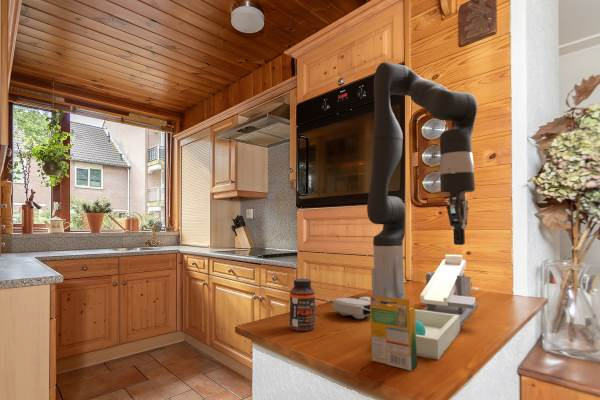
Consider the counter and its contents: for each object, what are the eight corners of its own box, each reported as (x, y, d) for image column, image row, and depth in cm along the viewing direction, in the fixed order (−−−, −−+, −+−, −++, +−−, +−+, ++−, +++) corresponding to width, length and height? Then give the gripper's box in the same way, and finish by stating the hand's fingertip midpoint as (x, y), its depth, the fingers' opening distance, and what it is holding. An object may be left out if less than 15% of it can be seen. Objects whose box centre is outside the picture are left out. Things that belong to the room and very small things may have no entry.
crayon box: (417, 365, 59) (415, 296, 60) (411, 371, 57) (409, 300, 58) (378, 356, 64) (376, 292, 64) (371, 361, 61) (369, 294, 62)
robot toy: (359, 309, 103) (324, 314, 93) (360, 293, 103) (325, 297, 93) (395, 317, 94) (360, 324, 84) (395, 300, 94) (361, 305, 84)
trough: (421, 310, 85) (419, 289, 84) (444, 271, 106) (443, 254, 105) (474, 317, 78) (472, 294, 78) (487, 274, 99) (486, 256, 99)
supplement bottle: (297, 333, 77) (296, 282, 78) (285, 327, 82) (285, 279, 83) (320, 329, 80) (319, 280, 81) (307, 323, 85) (307, 277, 86)
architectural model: (458, 296, 116) (457, 273, 117) (479, 299, 111) (478, 276, 112) (453, 297, 114) (452, 274, 115) (475, 301, 109) (474, 277, 109)
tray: (374, 346, 68) (374, 328, 69) (407, 322, 85) (406, 308, 85) (438, 359, 61) (437, 339, 62) (460, 330, 78) (459, 315, 78)
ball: (409, 331, 74) (403, 342, 70) (407, 314, 73) (401, 325, 70) (428, 335, 71) (423, 346, 68) (426, 317, 71) (421, 328, 67)
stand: (410, 322, 85) (409, 279, 86) (437, 301, 107) (436, 267, 108) (458, 329, 79) (456, 282, 79) (477, 305, 101) (475, 269, 101)
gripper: (446, 176, 91) (449, 242, 90) (433, 171, 81) (435, 245, 79) (478, 174, 87) (481, 243, 86) (468, 167, 76) (471, 246, 75)
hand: (459, 244), depth 83 cm, fingers closed
